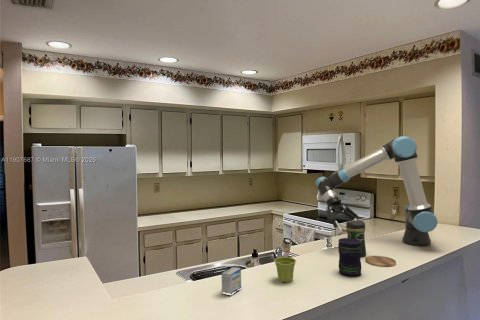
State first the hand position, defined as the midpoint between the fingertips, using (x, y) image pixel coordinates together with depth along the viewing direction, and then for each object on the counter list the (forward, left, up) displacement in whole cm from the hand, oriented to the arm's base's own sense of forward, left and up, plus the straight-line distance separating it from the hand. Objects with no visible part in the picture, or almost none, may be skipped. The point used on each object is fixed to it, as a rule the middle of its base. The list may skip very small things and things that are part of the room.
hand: (350, 230), depth 174 cm
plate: (-6, +16, -13) cm, 21 cm away
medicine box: (+73, +29, -13) cm, 79 cm away
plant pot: (+48, +24, -13) cm, 55 cm away
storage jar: (+17, +25, -13) cm, 32 cm away
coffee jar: (-1, +3, -13) cm, 13 cm away
